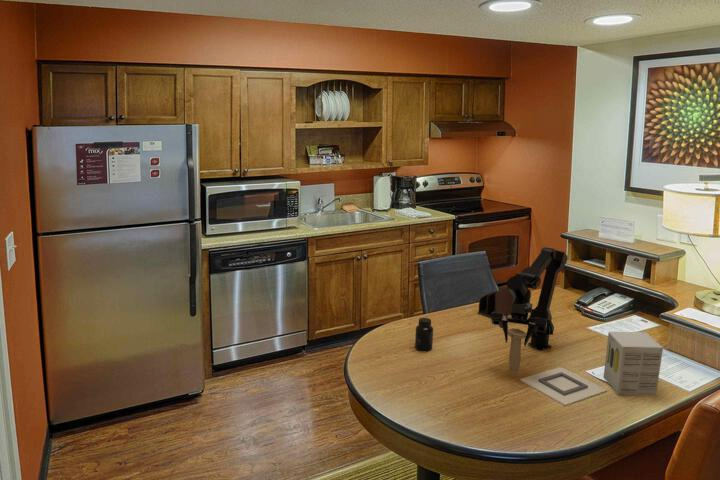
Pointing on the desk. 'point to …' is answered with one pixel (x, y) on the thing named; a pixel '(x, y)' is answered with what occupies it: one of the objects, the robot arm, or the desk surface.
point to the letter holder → (496, 302)
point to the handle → (515, 349)
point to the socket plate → (563, 385)
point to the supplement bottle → (424, 335)
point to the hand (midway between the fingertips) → (515, 343)
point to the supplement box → (633, 363)
